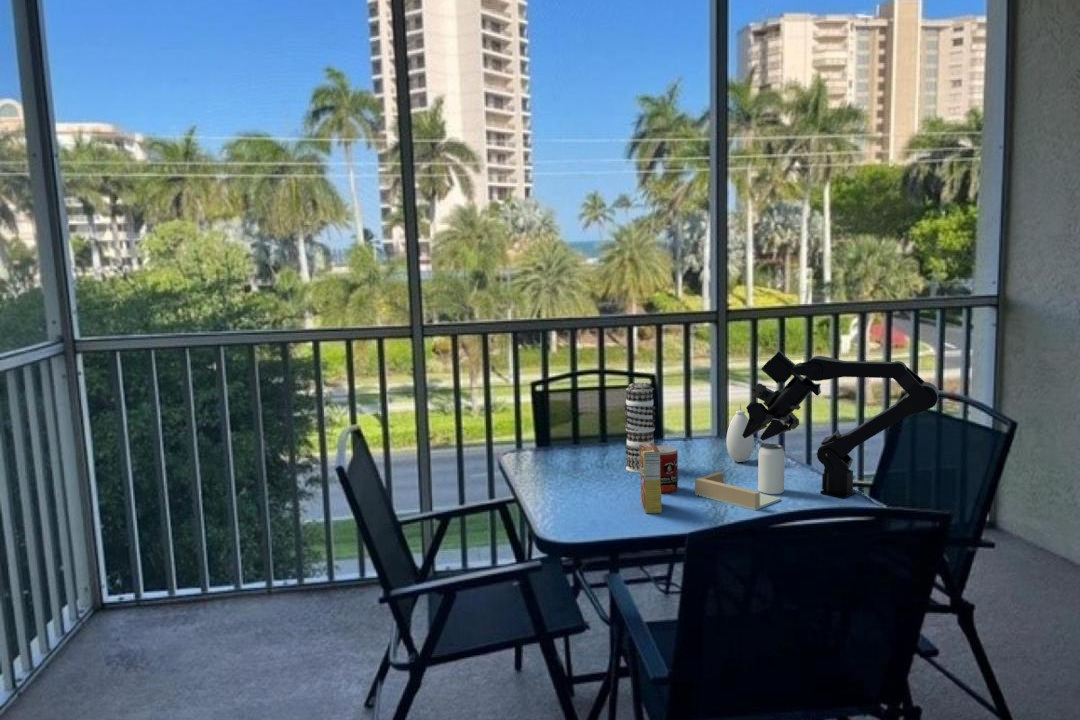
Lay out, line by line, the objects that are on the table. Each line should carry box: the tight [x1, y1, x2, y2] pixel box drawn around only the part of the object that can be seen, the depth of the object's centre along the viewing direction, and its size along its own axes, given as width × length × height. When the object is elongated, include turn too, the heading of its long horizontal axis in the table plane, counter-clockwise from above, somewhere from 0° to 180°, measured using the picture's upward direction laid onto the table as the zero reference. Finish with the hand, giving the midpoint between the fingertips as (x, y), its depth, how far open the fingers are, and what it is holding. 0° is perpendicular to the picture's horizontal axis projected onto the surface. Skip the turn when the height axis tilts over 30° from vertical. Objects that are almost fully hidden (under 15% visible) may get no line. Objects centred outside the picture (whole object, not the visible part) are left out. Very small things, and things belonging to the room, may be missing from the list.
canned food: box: [656, 444, 679, 494], centre depth 207 cm, size 8×8×11 cm
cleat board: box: [694, 471, 782, 511], centre depth 199 cm, size 18×11×4 cm, turn 41°
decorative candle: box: [623, 382, 657, 474], centre depth 227 cm, size 9×9×25 cm
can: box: [757, 443, 786, 496], centre depth 203 cm, size 6×6×12 cm
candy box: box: [639, 442, 662, 514], centre depth 192 cm, size 9×4×15 cm, turn 0°
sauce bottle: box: [726, 402, 755, 463], centre depth 232 cm, size 8×8×18 cm
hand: (752, 438), depth 209 cm, fingers open, 9 cm apart
